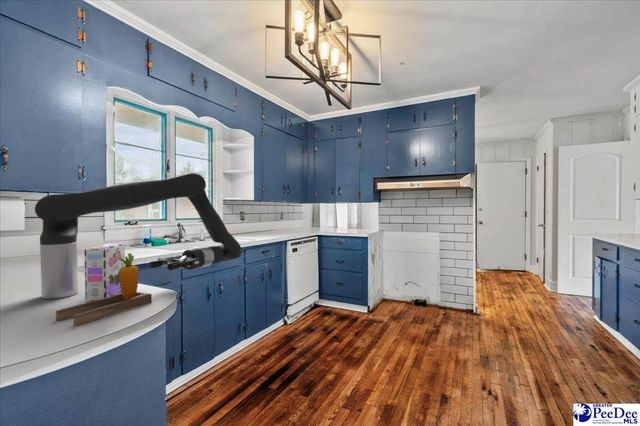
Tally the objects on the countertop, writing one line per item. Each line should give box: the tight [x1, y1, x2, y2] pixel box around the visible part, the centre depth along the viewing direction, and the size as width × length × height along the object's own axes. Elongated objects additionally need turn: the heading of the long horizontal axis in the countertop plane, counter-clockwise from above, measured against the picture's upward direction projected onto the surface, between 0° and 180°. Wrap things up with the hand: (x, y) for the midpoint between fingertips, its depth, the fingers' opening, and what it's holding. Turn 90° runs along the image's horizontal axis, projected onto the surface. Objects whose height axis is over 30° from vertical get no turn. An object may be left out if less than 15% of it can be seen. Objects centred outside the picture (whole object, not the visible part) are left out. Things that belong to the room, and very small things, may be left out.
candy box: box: [84, 243, 126, 303], centre depth 101 cm, size 14×6×16 cm, turn 9°
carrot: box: [119, 252, 140, 300], centre depth 91 cm, size 5×5×15 cm
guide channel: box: [55, 291, 153, 327], centre depth 86 cm, size 9×20×3 cm, turn 155°
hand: (159, 266), depth 100 cm, fingers open, 8 cm apart
